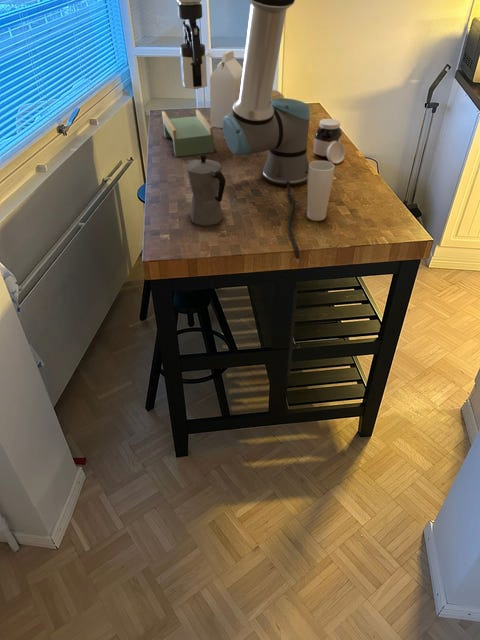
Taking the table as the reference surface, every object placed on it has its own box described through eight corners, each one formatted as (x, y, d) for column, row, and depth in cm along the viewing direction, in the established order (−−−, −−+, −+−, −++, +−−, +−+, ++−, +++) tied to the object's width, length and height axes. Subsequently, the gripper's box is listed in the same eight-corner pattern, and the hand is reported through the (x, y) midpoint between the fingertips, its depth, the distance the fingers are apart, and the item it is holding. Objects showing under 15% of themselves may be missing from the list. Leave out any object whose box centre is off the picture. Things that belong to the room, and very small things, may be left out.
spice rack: (213, 152, 170) (212, 125, 164) (175, 156, 167) (173, 130, 161) (199, 132, 186) (198, 107, 180) (164, 136, 183) (161, 111, 177)
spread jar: (323, 149, 171) (326, 115, 164) (351, 156, 166) (356, 121, 159) (306, 160, 164) (309, 125, 156) (336, 167, 159) (340, 132, 151)
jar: (192, 90, 156) (189, 49, 148) (176, 85, 160) (173, 45, 153) (212, 85, 161) (211, 45, 153) (197, 80, 165) (195, 41, 157)
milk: (235, 130, 188) (234, 56, 171) (210, 126, 191) (206, 54, 174) (248, 121, 196) (248, 50, 179) (223, 117, 200) (221, 47, 183)
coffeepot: (179, 214, 134) (173, 152, 123) (206, 204, 139) (202, 143, 127) (211, 236, 125) (208, 170, 114) (239, 224, 130) (238, 160, 118)
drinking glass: (311, 225, 129) (317, 172, 119) (299, 214, 134) (303, 162, 124) (333, 220, 131) (340, 167, 121) (320, 209, 136) (326, 158, 126)
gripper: (209, 7, 138) (213, 90, 153) (193, -3, 154) (198, 73, 169) (184, 9, 137) (190, 92, 151) (171, -2, 152) (177, 75, 167)
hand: (194, 82), depth 160 cm, fingers closed on jar, 9 cm apart
